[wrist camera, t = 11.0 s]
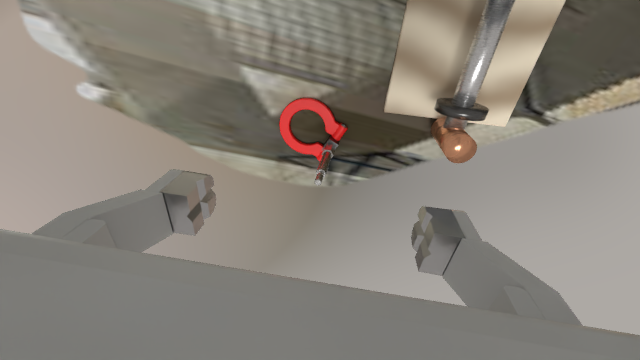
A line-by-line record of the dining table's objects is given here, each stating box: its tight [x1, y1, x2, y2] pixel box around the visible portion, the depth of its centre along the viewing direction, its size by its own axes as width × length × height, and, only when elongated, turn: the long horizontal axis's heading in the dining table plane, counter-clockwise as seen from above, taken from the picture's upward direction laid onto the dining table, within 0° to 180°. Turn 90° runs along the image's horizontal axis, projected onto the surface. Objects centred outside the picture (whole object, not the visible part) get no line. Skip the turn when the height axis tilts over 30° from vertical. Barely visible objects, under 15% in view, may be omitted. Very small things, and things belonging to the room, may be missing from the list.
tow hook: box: [279, 98, 348, 185], centre depth 34 cm, size 8×13×9 cm
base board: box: [384, 0, 566, 127], centre depth 30 cm, size 24×16×1 cm, turn 175°
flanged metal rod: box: [431, 0, 516, 163], centre depth 28 cm, size 19×6×7 cm, turn 175°
